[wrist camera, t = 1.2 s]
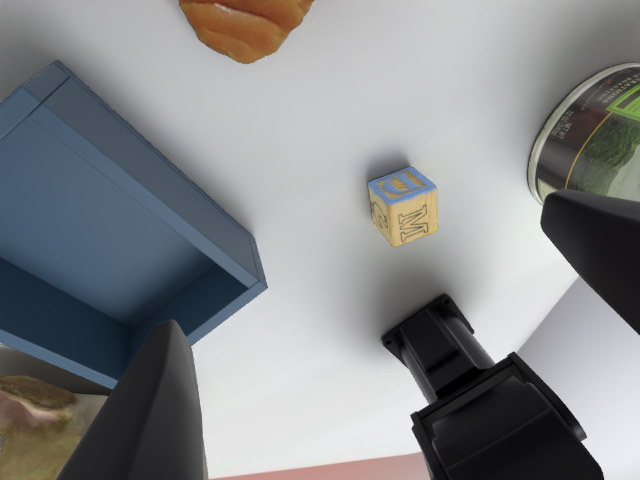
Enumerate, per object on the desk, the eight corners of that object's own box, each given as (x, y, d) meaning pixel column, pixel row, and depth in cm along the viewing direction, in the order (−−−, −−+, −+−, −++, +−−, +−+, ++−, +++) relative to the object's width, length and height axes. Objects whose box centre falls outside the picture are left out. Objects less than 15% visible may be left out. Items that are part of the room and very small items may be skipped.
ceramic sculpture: (198, 570, 25) (-104, 616, 20) (201, 442, 32) (-21, 453, 27) (224, 477, 20) (-167, 508, 15) (221, 349, 27) (-47, 343, 22)
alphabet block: (412, 164, 24) (439, 186, 21) (416, 207, 25) (440, 232, 23) (365, 180, 23) (386, 204, 21) (372, 222, 25) (392, 249, 23)
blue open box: (255, 238, 23) (268, 288, 20) (134, 333, 25) (126, 396, 21) (57, 59, 16) (20, 84, 12) (-99, 207, 17) (-173, 270, 14)
